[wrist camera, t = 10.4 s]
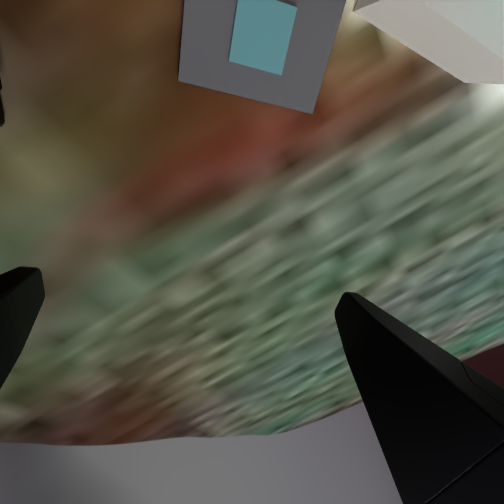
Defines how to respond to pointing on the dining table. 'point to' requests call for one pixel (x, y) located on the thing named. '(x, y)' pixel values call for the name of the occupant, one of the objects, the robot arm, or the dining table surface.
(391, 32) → the white block
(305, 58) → the card
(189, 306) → the dining table surface
